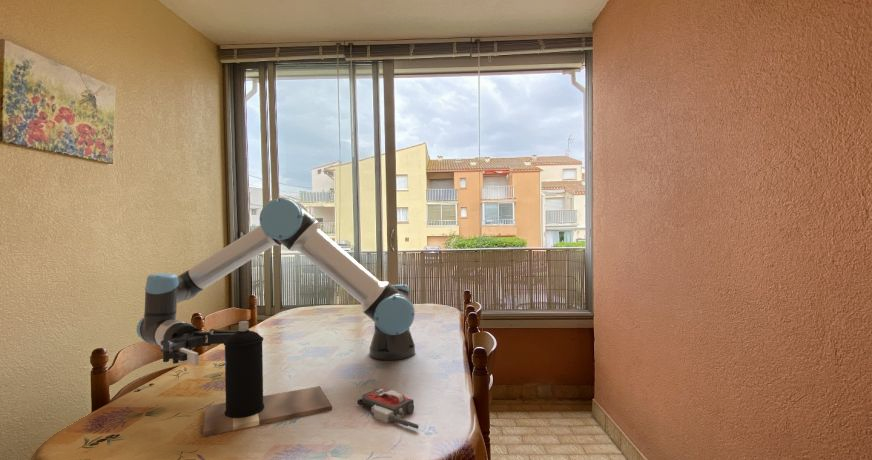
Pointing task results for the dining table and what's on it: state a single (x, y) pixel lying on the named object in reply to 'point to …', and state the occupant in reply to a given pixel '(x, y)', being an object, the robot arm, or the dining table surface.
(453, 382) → the dining table surface
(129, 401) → the dining table surface
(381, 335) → the robot arm
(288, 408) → the board
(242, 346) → the aerosol can
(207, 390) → the dining table surface
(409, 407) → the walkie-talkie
